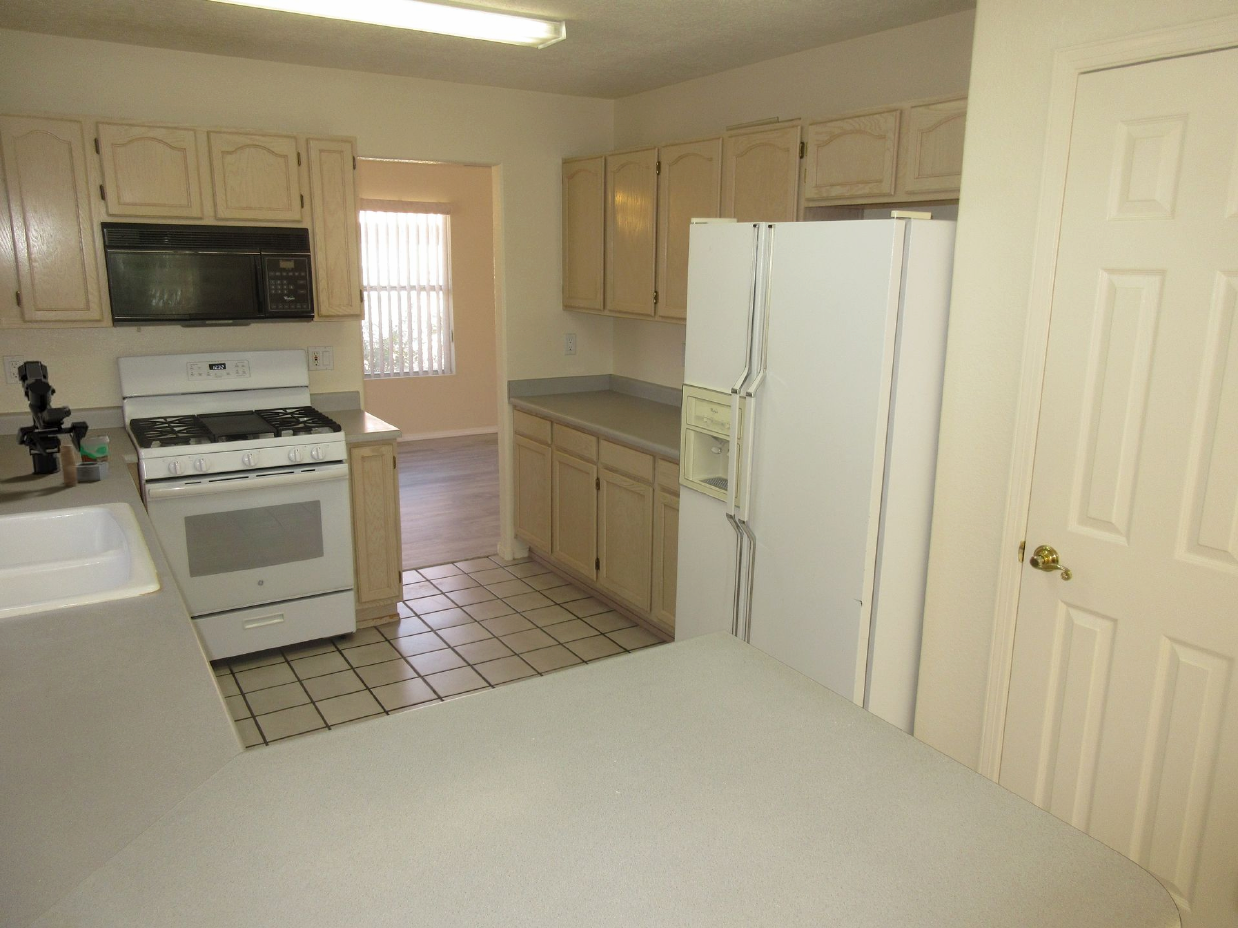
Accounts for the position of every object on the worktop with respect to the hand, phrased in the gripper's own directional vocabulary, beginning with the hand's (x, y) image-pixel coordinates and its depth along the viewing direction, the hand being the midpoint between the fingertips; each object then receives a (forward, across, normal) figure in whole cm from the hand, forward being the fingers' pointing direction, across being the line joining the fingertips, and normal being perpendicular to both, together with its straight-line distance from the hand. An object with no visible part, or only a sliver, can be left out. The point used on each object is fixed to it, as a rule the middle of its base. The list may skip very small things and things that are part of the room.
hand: (63, 453), depth 268 cm
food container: (-12, +21, +26) cm, 36 cm away
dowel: (+9, 0, +5) cm, 10 cm away
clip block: (+3, +9, +11) cm, 14 cm away
